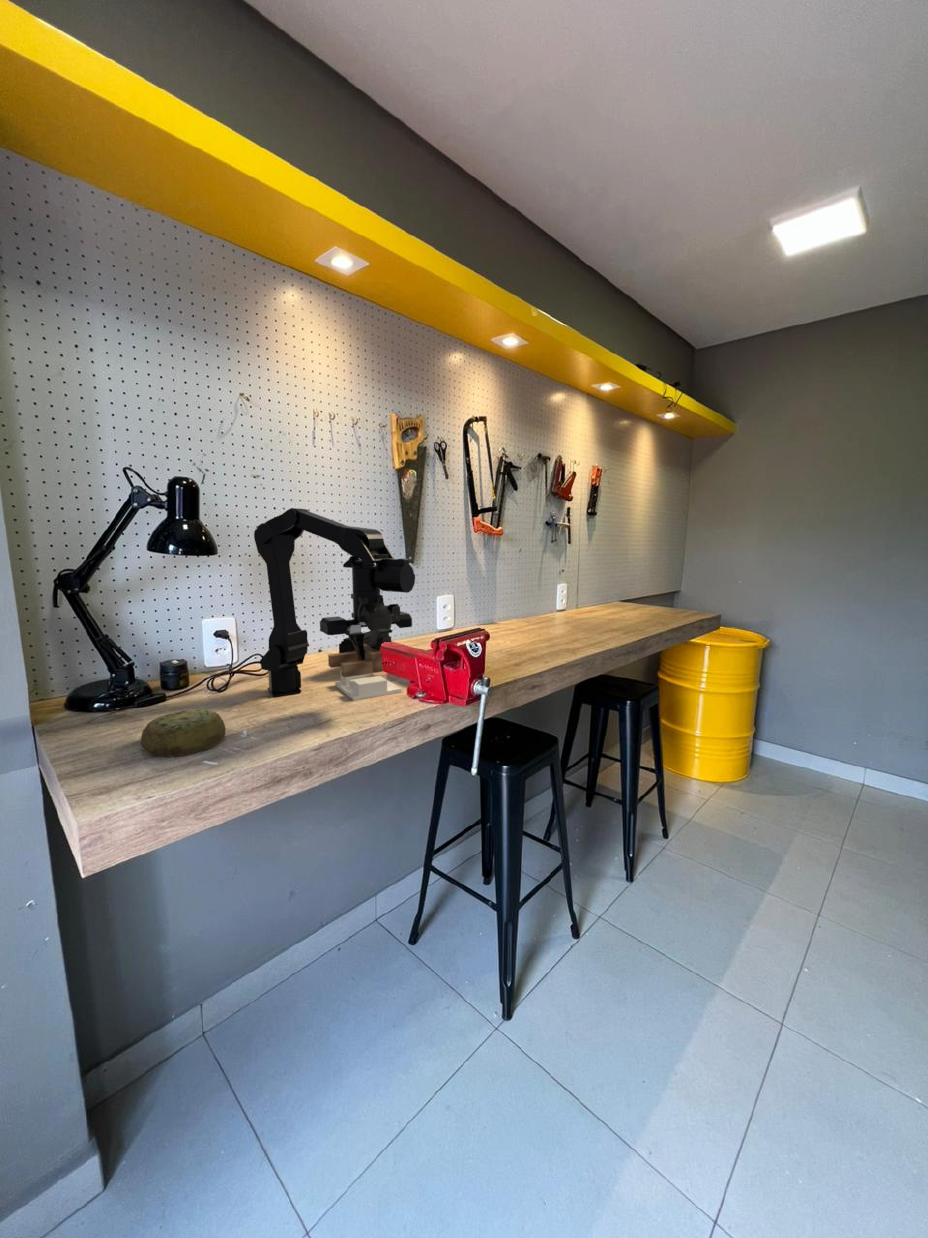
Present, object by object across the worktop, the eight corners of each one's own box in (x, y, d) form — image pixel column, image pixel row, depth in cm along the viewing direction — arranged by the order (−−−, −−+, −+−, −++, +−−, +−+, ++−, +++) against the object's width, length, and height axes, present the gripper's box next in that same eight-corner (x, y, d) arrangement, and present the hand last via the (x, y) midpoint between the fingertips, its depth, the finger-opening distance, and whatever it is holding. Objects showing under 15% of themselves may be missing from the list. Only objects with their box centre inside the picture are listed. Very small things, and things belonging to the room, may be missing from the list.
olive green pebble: (167, 728, 96) (164, 704, 95) (237, 727, 97) (236, 703, 96) (125, 760, 83) (121, 732, 82) (207, 759, 84) (205, 731, 83)
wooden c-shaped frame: (353, 700, 113) (353, 685, 112) (335, 685, 123) (334, 672, 123) (401, 692, 119) (401, 678, 118) (379, 678, 130) (379, 665, 129)
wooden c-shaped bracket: (344, 677, 98) (343, 658, 97) (328, 665, 106) (327, 647, 106) (382, 671, 103) (382, 652, 102) (364, 660, 111) (364, 643, 110)
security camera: (397, 662, 146) (397, 629, 144) (359, 678, 129) (358, 641, 128) (377, 659, 149) (377, 627, 147) (337, 675, 132) (336, 638, 130)
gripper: (335, 597, 92) (338, 677, 94) (424, 591, 102) (424, 664, 104) (317, 590, 101) (320, 664, 103) (400, 586, 111) (401, 653, 113)
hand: (368, 661), depth 106 cm, fingers closed on wooden c-shaped bracket, 2 cm apart
